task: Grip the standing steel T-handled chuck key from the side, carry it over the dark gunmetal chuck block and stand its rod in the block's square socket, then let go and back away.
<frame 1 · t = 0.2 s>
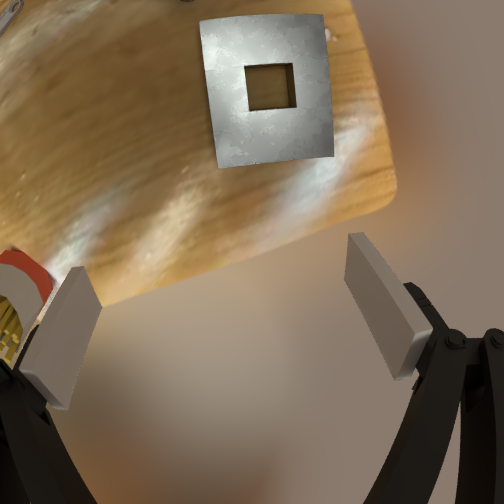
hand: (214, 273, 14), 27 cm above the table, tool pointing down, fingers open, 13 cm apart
french fries container: (32, 267, 43), on the table
chuck block: (265, 87, 34), on the table
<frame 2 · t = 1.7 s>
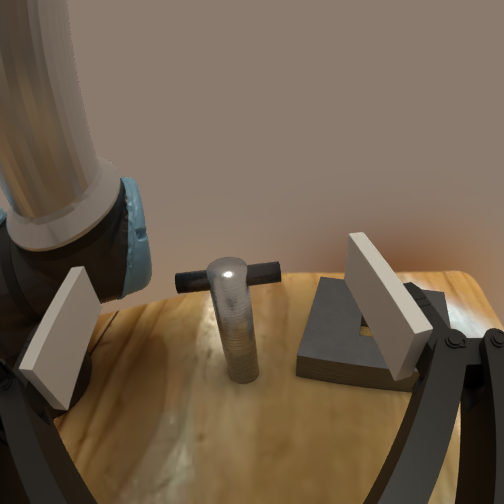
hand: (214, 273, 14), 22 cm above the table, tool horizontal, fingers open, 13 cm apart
chuck key: (244, 371, 34), on the table
chuck block: (377, 342, 36), on the table
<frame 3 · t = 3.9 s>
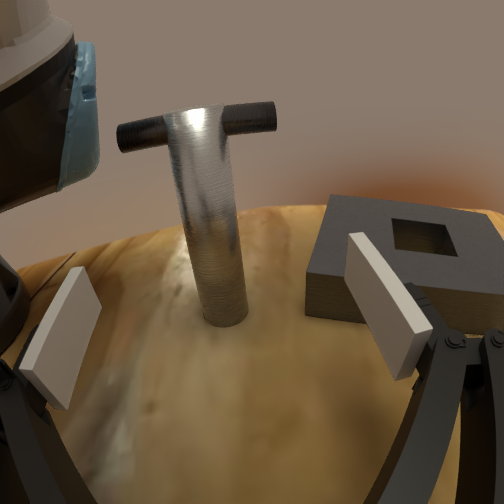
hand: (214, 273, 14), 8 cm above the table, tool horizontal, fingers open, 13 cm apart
chuck key: (225, 310, 24), on the table
chuck block: (414, 274, 25), on the table
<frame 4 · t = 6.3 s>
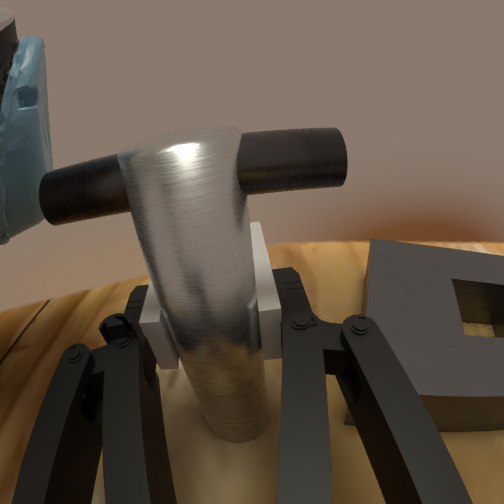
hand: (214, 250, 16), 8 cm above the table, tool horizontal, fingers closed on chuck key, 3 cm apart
chuck key: (238, 416, 16), on the table, touching gripper
chuck block: (470, 347, 17), on the table
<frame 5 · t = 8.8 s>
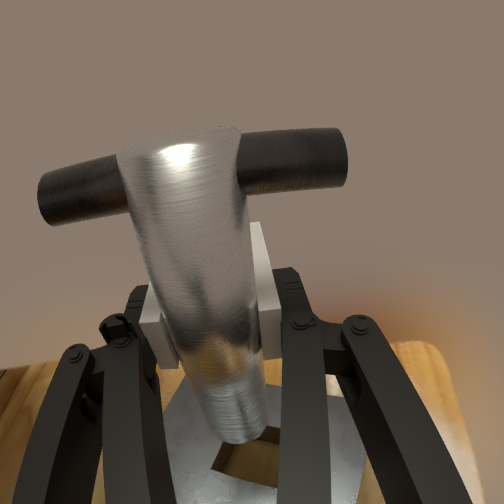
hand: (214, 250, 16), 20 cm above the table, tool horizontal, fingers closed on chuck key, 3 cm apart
chuck key: (238, 417, 16), point 12 cm above the table, touching gripper
chuck block: (257, 464, 23), on the table
when the fingers open (9 cm above the table, at t = 11.2 s): chuck key drops 1 cm, resting in chuck block.
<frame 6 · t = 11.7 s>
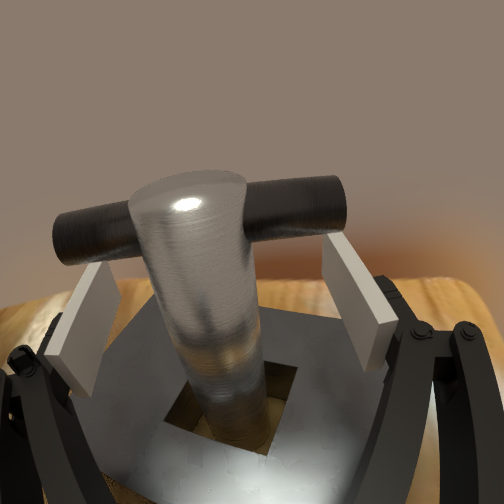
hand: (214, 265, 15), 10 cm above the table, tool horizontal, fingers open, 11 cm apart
chuck key: (241, 428, 17), resting in chuck block
chuck block: (241, 427, 17), on the table
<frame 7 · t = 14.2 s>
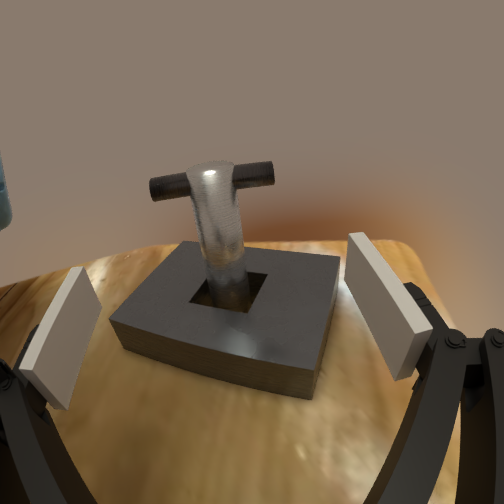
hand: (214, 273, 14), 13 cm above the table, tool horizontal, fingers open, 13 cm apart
chuck key: (235, 320, 29), resting in chuck block
chuck block: (235, 320, 29), on the table
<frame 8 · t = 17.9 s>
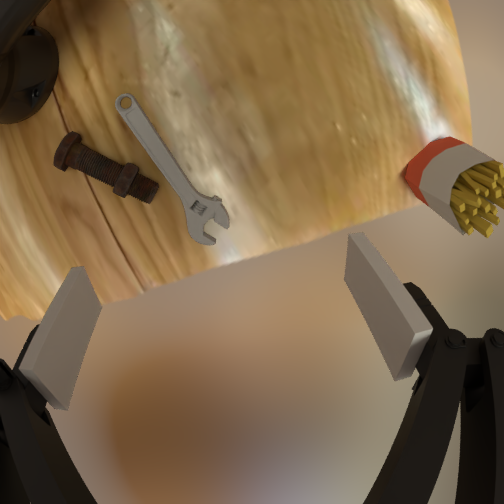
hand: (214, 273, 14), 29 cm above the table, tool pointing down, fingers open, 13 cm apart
adjustable wrench: (177, 166, 40), on the table
bolt: (112, 166, 39), on the table
french fries container: (424, 160, 42), on the table
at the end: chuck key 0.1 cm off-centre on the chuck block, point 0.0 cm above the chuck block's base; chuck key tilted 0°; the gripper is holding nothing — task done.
